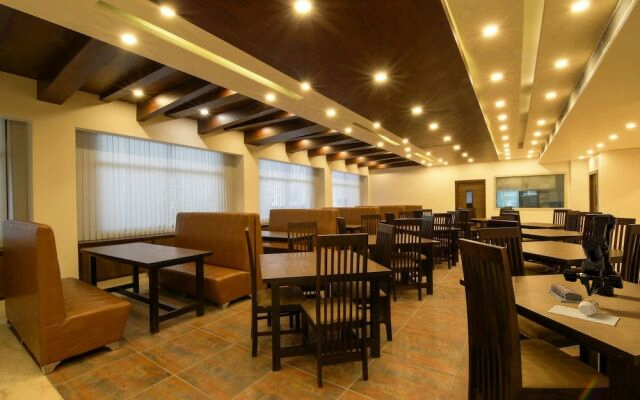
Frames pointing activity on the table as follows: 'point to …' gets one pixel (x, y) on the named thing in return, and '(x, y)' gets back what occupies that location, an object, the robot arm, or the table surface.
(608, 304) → the table surface
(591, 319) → the rubber mat
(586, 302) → the supplement bottle
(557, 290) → the packaged product
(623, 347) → the table surface
